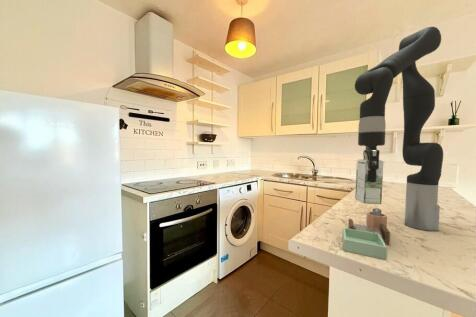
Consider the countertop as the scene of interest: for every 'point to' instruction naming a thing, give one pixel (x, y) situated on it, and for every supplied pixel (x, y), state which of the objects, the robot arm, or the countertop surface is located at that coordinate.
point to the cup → (376, 220)
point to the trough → (364, 243)
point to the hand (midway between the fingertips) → (369, 180)
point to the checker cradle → (383, 231)
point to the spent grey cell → (376, 212)
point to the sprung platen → (367, 229)
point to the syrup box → (368, 184)
